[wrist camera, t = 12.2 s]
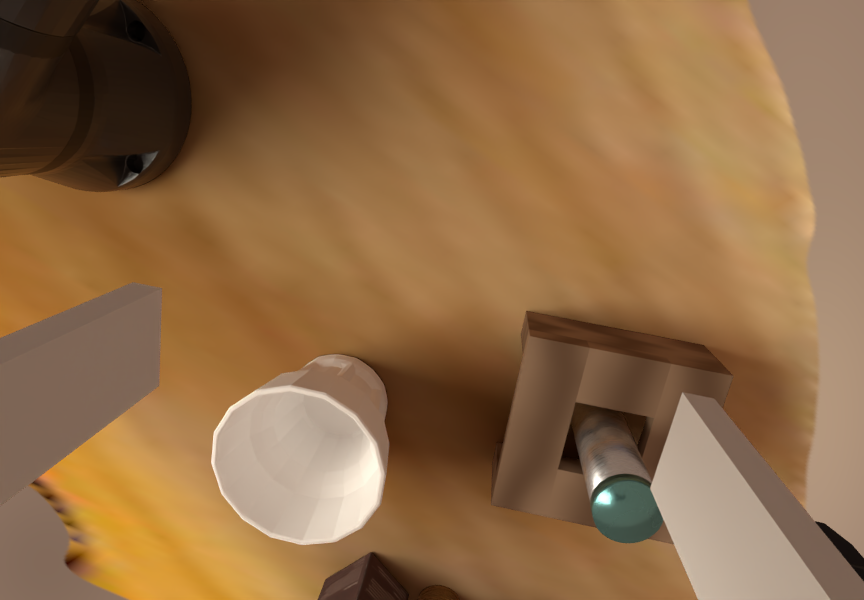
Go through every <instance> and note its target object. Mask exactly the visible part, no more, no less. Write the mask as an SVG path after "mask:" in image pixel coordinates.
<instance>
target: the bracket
mask: <svg viewBox="0 0 864 600" xmlns="http://www.w3.org/2000/svg"><path fill="white" fill-rule="evenodd" d="M521 338H522V349H523V357H522V361H521V366H520V370H519V375H518V379H517V383H516V388H515V392H514V397H513V401H512V405H511V410H510V414H509V418H508V423H507V427H506V432H505V436H504V440H503V443H498V442H497V444H496V449H495V453H494V457H493V462H492V492H491V505H494V506H499V507H503V508H508V509H512V510H517V511H522V512H526V513H531V514H536V515H540V516H545V517H550V518H554V519H559V520H563V521H568V522H573V523H577V524H582V525H587V526H591V527H596V525H595V523H594V520H593V516H592V511H591V507H590V500H589V495H588V491H587V487H586V483H585V479H584V475H583V470H582V466H581V462H580V460H579V459H575V458H570V457H565V456H562V452H563V448H564V444H565V441H566V437H567V433H568V429H569V425H570V422H571V418H572V414H573V410H574V406H575V403H576V402H578V403H583V404H588V405H593V406H598V407H603V408H608V409H613V410H617V411H622V412H627V413H632V414H637V415H642V416H647V418H646V421H645V424H644V428H643V431H642V434H641V437H640V441H639V444H638V447H637V448H638V450H639V453H640V455H641V457H642V459H643V462H644V464H645V466H646V469H647V471H648V473H649V475H650V478H651V480H652V481H653V478H654V475H655V472H656V469H657V466H658V463H659V460H660V457H661V454H662V452H663V449H664V446H665V443H666V440H667V437H668V434H669V431H670V428H671V425H672V422H673V419H674V416H675V413H676V410H677V407H678V404H679V401H680V398H681V395H682V392H684V393H689V394H694V395H699V396H704V397H709V398H714V399H715V400H716V401H717V402H718V404H719V405H720V406H721V407H722V408H723V405H724V402H725V399H726V396H727V394H728V391H729V388H730V385H731V382H732V379H733V375H732V374H731V373H730V372H729V371H728V370H727V369H726V368H725V367H724V366H723V365H722V363H721V362H720V361H719V360H718V359H717V358H716V357H715V356H714V355H713V354H712V353H711V352H710V351H709V350H708V349H707V348H706V347H705V346H704V345H700V344H694V343H689V342H684V341H679V340H674V339H668V338H663V337H658V336H653V335H648V334H642V333H637V332H632V331H627V330H622V329H616V328H611V327H606V326H601V325H596V324H590V323H585V322H580V321H575V320H570V319H564V318H559V317H554V316H549V315H544V314H538V313H533V312H528V311H526V315H525V319H524V324H523V328H522V333H521ZM596 528H597V527H596ZM648 539H651V540H656V541H661V542H665V543H670V544H674V543H673V540H672V538H671V536H670V533H669V531H668V529H667V526H666V524H665V522H664V520H663V523H662V525H661V527H660V528H659V530H658V531H657V532H656V533H655V534H654V535H652V536H651V537H649V538H648Z"/></svg>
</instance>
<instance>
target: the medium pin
mask: <svg viewBox="0 0 864 600" xmlns="http://www.w3.org/2000/svg"><path fill="white" fill-rule="evenodd" d="M418 600H459V598H458V596H457V594H456V593H455V592H454V591H453V590H451V589H450V588H448V587H445V586H441V585H433V586H429V587H427V588H425V589H424V590H423V591H422V592H421V593H420V595H419V599H418Z"/></svg>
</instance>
